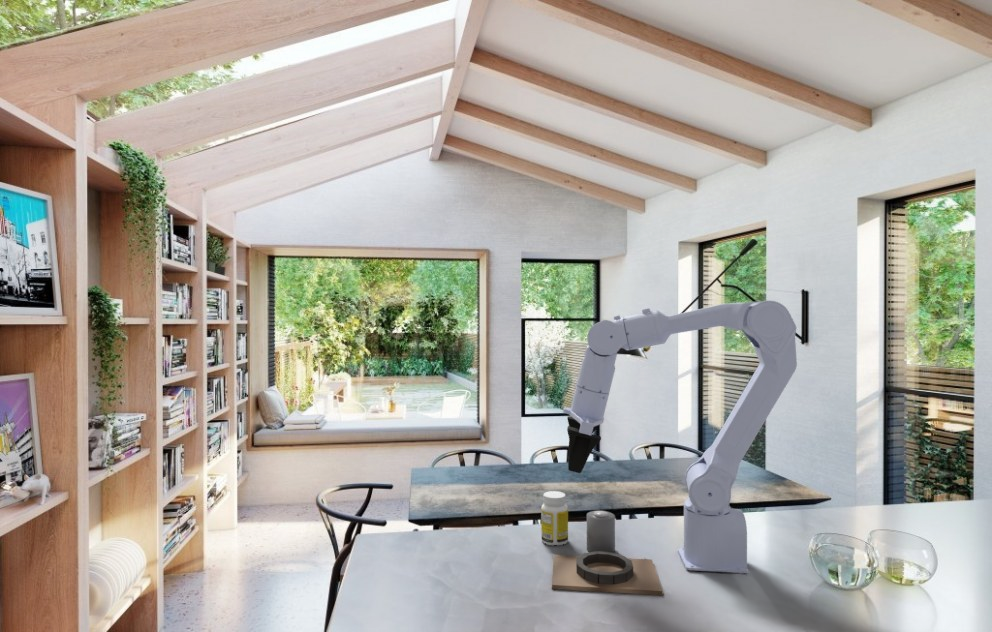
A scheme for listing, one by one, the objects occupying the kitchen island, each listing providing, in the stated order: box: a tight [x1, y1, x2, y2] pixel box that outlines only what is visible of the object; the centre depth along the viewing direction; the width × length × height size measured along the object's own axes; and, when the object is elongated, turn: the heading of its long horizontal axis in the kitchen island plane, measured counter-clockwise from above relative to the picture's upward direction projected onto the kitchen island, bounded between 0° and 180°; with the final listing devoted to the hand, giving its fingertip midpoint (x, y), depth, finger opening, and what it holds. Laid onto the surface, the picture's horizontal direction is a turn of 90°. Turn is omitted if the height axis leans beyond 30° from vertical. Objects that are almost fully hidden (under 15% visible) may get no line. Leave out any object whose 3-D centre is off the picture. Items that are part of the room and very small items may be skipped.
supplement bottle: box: [540, 490, 569, 546], centre depth 106 cm, size 5×5×8 cm
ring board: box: [551, 551, 664, 596], centre depth 92 cm, size 16×11×2 cm
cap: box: [586, 510, 616, 553], centre depth 102 cm, size 5×5×6 cm
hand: (574, 464), depth 102 cm, fingers open, 7 cm apart
